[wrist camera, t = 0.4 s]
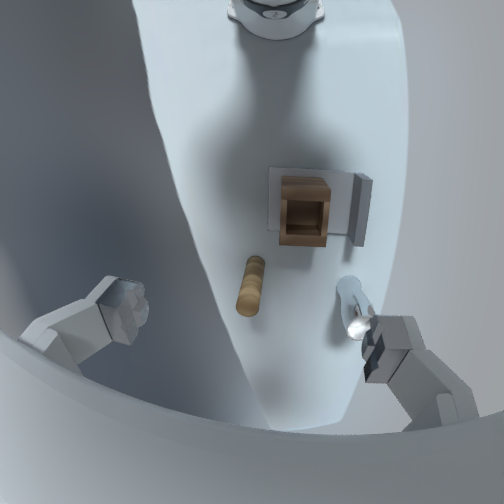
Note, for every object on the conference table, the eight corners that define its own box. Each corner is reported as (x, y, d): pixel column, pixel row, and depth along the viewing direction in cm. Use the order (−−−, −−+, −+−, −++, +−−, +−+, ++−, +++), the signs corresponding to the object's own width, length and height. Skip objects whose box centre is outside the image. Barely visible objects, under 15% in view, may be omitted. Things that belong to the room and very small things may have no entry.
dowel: (246, 255, 61) (235, 298, 47) (264, 256, 61) (258, 299, 46) (247, 271, 63) (236, 316, 49) (264, 272, 62) (258, 317, 48)
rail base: (268, 167, 52) (266, 172, 46) (363, 173, 50) (373, 180, 44) (267, 228, 58) (265, 242, 52) (356, 233, 56) (364, 246, 50)
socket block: (281, 175, 51) (281, 187, 42) (322, 178, 51) (331, 190, 42) (280, 224, 56) (279, 245, 47) (319, 226, 55) (325, 247, 46)
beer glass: (361, 270, 60) (378, 311, 46) (363, 294, 62) (379, 336, 49) (332, 277, 61) (343, 319, 48) (336, 301, 64) (346, 344, 51)
